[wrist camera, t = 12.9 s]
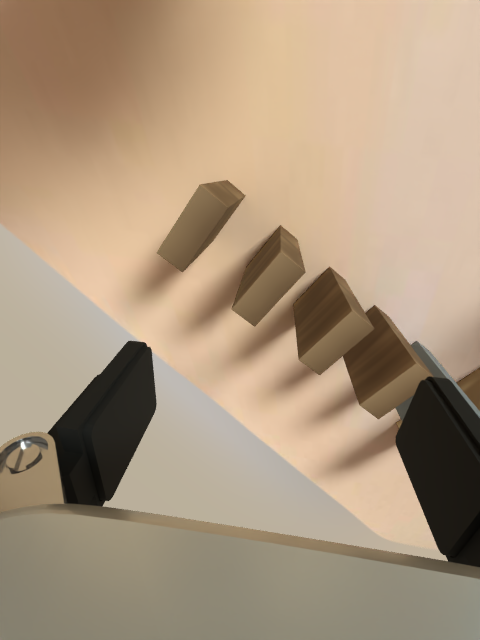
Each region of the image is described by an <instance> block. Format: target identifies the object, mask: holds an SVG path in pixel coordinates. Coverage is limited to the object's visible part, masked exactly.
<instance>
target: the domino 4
mask: <svg viewBox="0 0 480 640" xmlns="http://www.w3.org/2000/svg"><path fill="white" fill-rule="evenodd" d="M365 314H366V316H367V317H368V319H369V321H370V322H371V324H372V326H373V327H374V330H373V331H371V332H370V333H369V334H368V335H367V336H365V337H364V338H363V339H362V340H361V341H360V342H358V343H357V344H356V345H355V346H354V347H352V348H351V349H350V350H349V351H348V352H347V353H345V354H344V355H343V358H344V361H345V364H346V367H347V370H348V373H349V376H350V379H351V382H352V385H353V388H354V390H355V393H356V396H357V399H358V402H359V405H360V406H361V407H363V408H364V409H365V410H367V411H368V412H369V413H371V414H372V415H373V416H375V417H376V418H377V419H380V418H381V417H382V416H384V415H385V414H387V413H388V412H390V411H391V410H393V409H394V408H396V407H397V406H399V405H400V404H401V403H403V402H404V401H406V400H407V399H409V398H410V397H412V396H413V395H414V394H415V392H416V389H417V387H418V385H419V383H420V381H421V380H425V379H426V378H427V377H429V376H431V377H434V376H433V375H432V373H431V372H430V371H429V369H428V368H427V367H426V365H425V364H424V363H423V361H422V360H421V359H420V357H419V356H418V355H417V353H416V352H415V351H414V349H413V348H412V347H411V345H410V344H409V343H408V342H407V340H406V339H405V338H404V336H403V335H402V334H401V332H400V331H399V330H398V328H397V327H396V326H395V324H394V323H393V322H392V320H391V319H390V318H389V317H388V316H387V315H386V314H385V313H384V312H382V311H381V310H380V309H379V308H378V307H377V306H375V305H374V306H373V307H372V308H371V309H370V310H369V311H368V312H367V313H365Z"/></svg>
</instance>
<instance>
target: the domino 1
mask: <svg viewBox="0 0 480 640" xmlns="http://www.w3.org/2000/svg"><path fill="white" fill-rule="evenodd" d="M244 197H245V195H244V194H243V193H242V192H241V191H239V190H238V189H237V188H236V187H235V186H234V185H232V184H231V183H230V182H229V181H228V180H226V181H220V182H213V183H207V184H201V185H199V187H198V188H197V190H196V192H195V193H194V195H193V196H192V198H191V199H190V201H189V203H188V204H187V206H186V207H185V209H184V210H183V212H182V214H181V215H180V217H179V218H178V220H177V221H176V223H175V225H174V226H173V228H172V229H171V231H170V232H169V234H168V236H167V237H166V239H165V240H164V242H163V244H162V245H161V247H160V248H159V250H158V251H157V254H159V255H160V256H161V257H163V258H164V259H165V260H167V261H168V262H169V263H171V264H172V265H173V266H175V267H176V268H177V269H179V270H180V271H181V272H183V271H184V270H185V269H186V268H187V267H188V266H189V265H190V264H191V263H192V262H193V261H194V260H195V259H196V258H197V257H198V256H199V255H200V254H201V253H202V252H203V251H204V250H205V249H206V248H207V247H208V246H209V245H210V243H211V242H212V241H213V240H214V239H215V237H216V236H217V235H218V233H219V232H220V231H221V229H222V228H223V226H224V225H225V224H226V222H227V221H228V219H229V218H230V217H231V215H232V214H233V212H234V211H235V210H236V208H237V207H238V206H239V204H240V203H241V201H242V200H243V199H244Z"/></svg>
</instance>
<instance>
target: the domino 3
mask: <svg viewBox="0 0 480 640" xmlns="http://www.w3.org/2000/svg"><path fill="white" fill-rule="evenodd" d="M293 307H294V317H295V327H296V337H297V347H298V358H299V360H300V361H301V362H303V363H304V364H305V365H307V366H308V367H309V368H311V369H312V370H313V371H315V372H316V373H317V374H319V375H321V374H322V373H323V372H324V371H325V370H326V369H328V368H329V367H330V366H331V365H332V364H334V363H335V362H336V361H337V360H338V359H339V358H341V357H342V356H343V355H344V354H345V353H347V352H348V351H349V350H350V349H351V348H352V347H354V346H355V345H356V344H357V343H358V342H360V341H361V340H362V339H363V338H364V337H365V336H367V335H368V334H369V333H370V332H371V331H373V330H374V327H373V326H372V324H371V322H370V321H369V319H368V317H367V316H366V314H365V312H364V311H363V309H362V307H361V306H360V304H359V302H358V301H357V299H356V297H355V296H354V294H353V292H352V291H351V289H350V287H349V286H348V284H347V282H346V281H345V279H343V278H342V277H341V276H340V275H339V274H338V273H336V272H335V271H334V270H333V269H332V268H330V267H329V268H328V269H327V270H326V271H325V272H324V273H323V274H322V275H321V276H320V277H319V278H318V279H317V280H316V281H315V282H314V283H313V284H312V285H311V287H310V288H309V289H308V290H307V291H306V292H305V293H304V294H303V295H302V296H301V297H300V298H299V299H298V300H297V301H296V302H295V303H294V304H293Z"/></svg>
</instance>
